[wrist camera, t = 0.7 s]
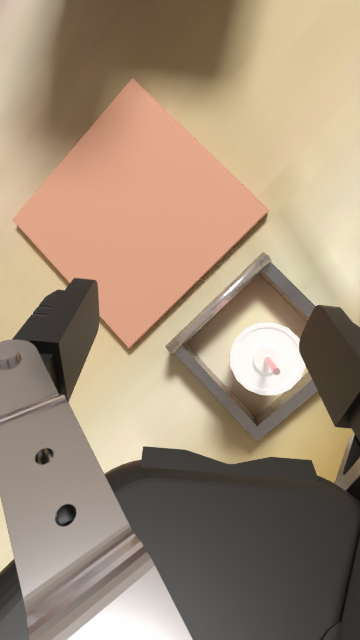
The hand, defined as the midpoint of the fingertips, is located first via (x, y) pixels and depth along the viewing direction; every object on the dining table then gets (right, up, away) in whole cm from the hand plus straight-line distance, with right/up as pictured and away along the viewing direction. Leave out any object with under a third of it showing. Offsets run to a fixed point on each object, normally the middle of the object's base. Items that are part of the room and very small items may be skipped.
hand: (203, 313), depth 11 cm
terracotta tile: (-6, +12, +24) cm, 28 cm away
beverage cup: (+8, -3, +22) cm, 24 cm away
